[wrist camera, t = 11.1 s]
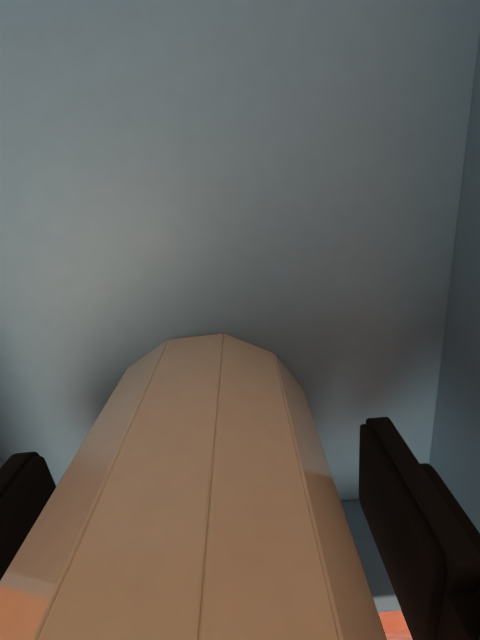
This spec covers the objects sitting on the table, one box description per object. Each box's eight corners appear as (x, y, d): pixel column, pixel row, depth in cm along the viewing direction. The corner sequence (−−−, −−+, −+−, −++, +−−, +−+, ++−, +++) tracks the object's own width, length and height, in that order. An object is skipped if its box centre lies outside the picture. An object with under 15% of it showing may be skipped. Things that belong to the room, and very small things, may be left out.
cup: (92, 346, 11) (-350, 844, 3) (300, 324, 11) (517, 784, 3) (138, 499, 14) (-18, 1004, 5) (308, 483, 13) (432, 981, 5)
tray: (-257, -65, 8) (-726, -304, 4) (523, -183, 7) (840, -589, 3) (31, 530, 15) (-39, 648, 11) (435, 492, 14) (506, 602, 11)
